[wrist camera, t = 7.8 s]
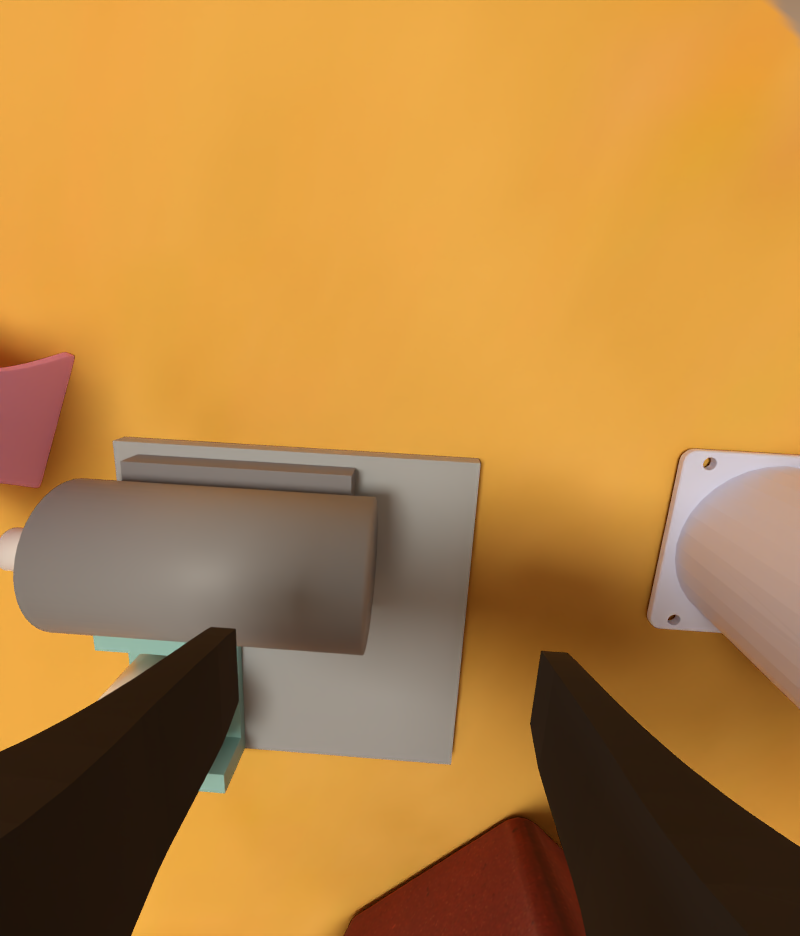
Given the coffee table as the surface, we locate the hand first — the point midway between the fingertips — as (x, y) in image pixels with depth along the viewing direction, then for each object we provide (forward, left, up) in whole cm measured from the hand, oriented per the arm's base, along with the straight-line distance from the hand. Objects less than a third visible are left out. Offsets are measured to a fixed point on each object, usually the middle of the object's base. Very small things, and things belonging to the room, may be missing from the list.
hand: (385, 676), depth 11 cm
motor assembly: (+6, +4, -10) cm, 12 cm away
